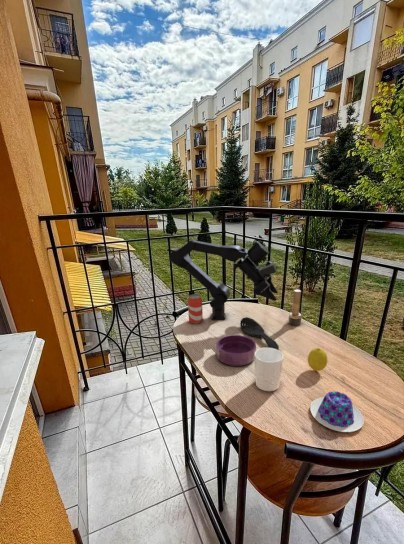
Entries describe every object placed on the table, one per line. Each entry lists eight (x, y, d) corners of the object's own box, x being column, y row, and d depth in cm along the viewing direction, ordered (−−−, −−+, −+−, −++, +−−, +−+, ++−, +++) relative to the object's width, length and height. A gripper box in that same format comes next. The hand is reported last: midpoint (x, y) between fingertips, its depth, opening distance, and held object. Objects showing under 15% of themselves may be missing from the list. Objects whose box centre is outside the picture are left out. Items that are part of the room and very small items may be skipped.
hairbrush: (267, 347, 96) (236, 317, 118) (266, 356, 97) (236, 324, 119) (288, 342, 98) (253, 314, 120) (287, 351, 100) (253, 321, 121)
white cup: (276, 396, 77) (278, 365, 73) (249, 387, 81) (250, 357, 77) (284, 381, 83) (287, 351, 79) (259, 373, 87) (260, 345, 83)
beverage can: (195, 325, 121) (193, 299, 116) (186, 321, 125) (184, 296, 121) (205, 321, 124) (204, 296, 120) (196, 317, 129) (195, 292, 125)
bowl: (217, 346, 103) (216, 334, 101) (253, 347, 102) (253, 334, 100) (216, 367, 91) (215, 353, 89) (257, 367, 90) (257, 354, 88)
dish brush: (287, 320, 122) (289, 288, 117) (299, 320, 122) (302, 288, 116) (289, 325, 117) (292, 292, 112) (302, 325, 117) (305, 292, 112)
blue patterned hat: (300, 403, 74) (302, 387, 72) (340, 395, 76) (343, 379, 74) (329, 439, 63) (332, 421, 61) (375, 428, 65) (379, 410, 63)
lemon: (316, 378, 83) (319, 354, 81) (302, 369, 88) (305, 346, 85) (329, 372, 86) (333, 349, 83) (315, 364, 90) (318, 342, 88)
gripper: (263, 261, 105) (291, 291, 106) (266, 252, 121) (291, 277, 122) (241, 281, 110) (269, 309, 111) (248, 269, 126) (272, 293, 127)
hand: (276, 296), depth 117 cm, fingers open, 9 cm apart
